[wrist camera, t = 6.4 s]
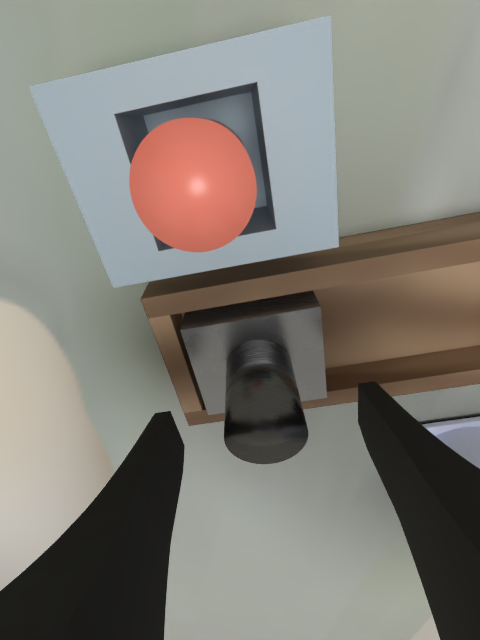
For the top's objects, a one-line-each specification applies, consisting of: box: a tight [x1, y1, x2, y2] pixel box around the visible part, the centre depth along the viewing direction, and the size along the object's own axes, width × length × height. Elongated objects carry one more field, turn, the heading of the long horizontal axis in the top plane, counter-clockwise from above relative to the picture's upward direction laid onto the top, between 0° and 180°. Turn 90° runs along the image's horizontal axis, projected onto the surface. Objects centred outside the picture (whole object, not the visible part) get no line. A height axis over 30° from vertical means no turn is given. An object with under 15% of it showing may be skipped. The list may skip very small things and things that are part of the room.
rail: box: [141, 212, 480, 426], centre depth 17 cm, size 8×19×3 cm, turn 101°
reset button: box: [129, 118, 257, 252], centre depth 10 cm, size 3×3×4 cm
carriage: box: [180, 290, 327, 464], centre depth 15 cm, size 5×6×6 cm
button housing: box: [29, 15, 339, 288], centre depth 12 cm, size 6×8×5 cm
